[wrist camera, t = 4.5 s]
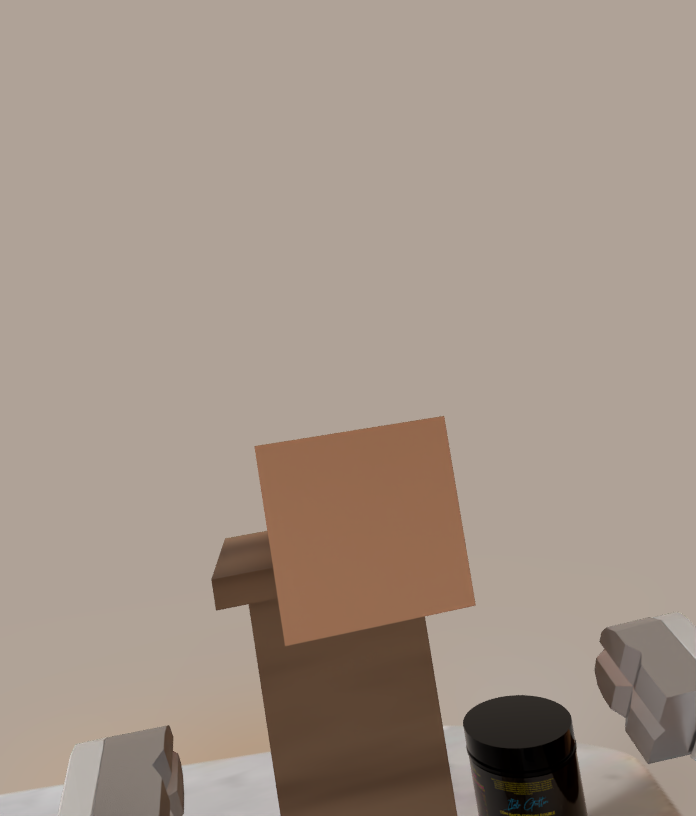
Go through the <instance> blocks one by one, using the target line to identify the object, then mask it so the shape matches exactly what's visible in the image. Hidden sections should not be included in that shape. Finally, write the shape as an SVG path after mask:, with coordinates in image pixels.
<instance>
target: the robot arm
mask: <svg viewBox="0 0 696 816" xmlns="http://www.w3.org/2000/svg"><path fill="white" fill-rule="evenodd" d="M600 643H601V644H602V646H603V647H604V650H603V651H602V652H601V653H600V654H599V656H598V657H597V658H596V664H595V675H596V679H597V684H598V687H599V689H600V691H601V693H602V695H603V698H604V699H605V701H606V702H607V704H608V705H609V707H610V708H611V709H612V710H613V711H615V712H617V713H618V714H620V715H622V716H623V717H625V718H626V723H625V726H626V727H625V730H626V732H627V734H628V735H629V737H630V738H631V740H632V741H633V742H634V744H635V746H636V747H637V749H638V750H639V752H640V753H641V754H642V756H643V757H644V759H645V760H646V762H647V763H648V764H650V763H655V762H659V761H664V760H667V759H672V758H676V757H681V756H685V755H689V754H691V758H693V759H694V760H695V761H696V627H695V626H694V625H693V624H692V622H691V621H690V620H689V619H688V618H687V617H686V616H685V615H683V614H681V613H679V612H674V613H669V614H665V615H661V616H657V617H653V618H651V617H648V618H645V619H640V620H636V621H632V622H627V623H623V624H619V625H615V626H611V627H607V628H605V629H604V630H603V631H602V633H601V637H600ZM183 814H184V785H183V773H182V767H181V762H180V758H179V755H178V753H176V752H174V751H173V735H172V732H171V729H170V726H169V725H168V726H163V727H158V728H153V729H148V730H143V731H138V732H133V733H128V734H122V735H117V736H112V737H107V738H102V739H97V740H93V741H88V742H84V743H79V744H76V745H75V747H74V749H73V751H72V753H71V755H70V759H69V764H68V769H67V773H66V778H65V783H64V788H63V793H62V797H61V802H60V807H59V812H58V816H182V815H183Z"/></svg>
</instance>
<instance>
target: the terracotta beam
mask: <svg viewBox="0 0 696 816" xmlns="http://www.w3.org/2000/svg"><path fill="white" fill-rule="evenodd" d="M255 452H256V459H257V465H258V472H259V478H260V485H261V492H262V498H263V504H264V511H265V518H266V524H267V531H268V537H269V544H270V550H271V557H272V564H273V570H274V577H275V583H276V590H277V596H278V603H279V609H280V616H281V622H282V629H283V635H284V642H285V646H289V645H293V644H298V643H303V642H307V641H312V640H317V639H321V638H326V637H331V636H335V635H340V634H345V633H349V632H354V631H359V630H363V629H368V628H373V627H378V626H382V625H387V624H392V623H396V622H401V621H406V620H410V619H415V618H420V617H424V616H429V615H433V614H438V613H442V612H447V611H452V610H457V609H462V608H466V607H470V606H475V599H474V592H473V586H472V581H471V574H470V568H469V563H468V556H467V551H466V544H465V539H464V533H463V526H462V521H461V515H460V509H459V502H458V496H457V490H456V484H455V478H454V472H453V467H452V460H451V454H450V449H449V443H448V436H447V430H446V424H445V418H444V416H442V417H435V418H428V419H422V420H416V421H410V422H403V423H398V424H391V425H384V426H378V427H372V428H366V429H359V430H353V431H347V432H341V433H334V434H328V435H322V436H316V437H310V438H303V439H297V440H291V441H284V442H279V443H272V444H266V445H259V446H255Z"/></svg>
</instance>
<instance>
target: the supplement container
mask: <svg viewBox="0 0 696 816" xmlns="http://www.w3.org/2000/svg"><path fill="white" fill-rule="evenodd" d="M463 727H464V733H465V739H466V747H467V753H468V755H469V760H470V766H471V772H472V778H473V784H474V790H475V796H476V802H477V808H478V814H479V816H588V815H587V809H586V803H585V798H584V792H583V786H582V780H581V774H580V769H579V763H578V757H577V751H576V749H577V745H576V740H575V736H574V732H573V725H572V719H571V715H570V713H569V712H568V711H567V710H566V709H565V708H564V707H563V706H562V705H560V704H558V703H556V702H554V701H551V700H548V699H545V698H541V697H535V696H525V695H516V696H505V697H499V698H495V699H491V700H488V701H485V702H483V703H481V704H479V705H477V706H475V707H474V708H472V709H471V710H470V711H469V712H468V713H467V714H466V716H465V717H464V720H463Z"/></svg>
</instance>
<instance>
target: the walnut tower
mask: <svg viewBox="0 0 696 816" xmlns="http://www.w3.org/2000/svg"><path fill="white" fill-rule="evenodd" d="M212 586H213V593H214V599H215V606H216V610H221V609H226V608H231V607H236V606H241V605H246V604H249V609H250V616H251V623H252V628H253V636H254V642H255V649H256V655H257V662H258V669H259V674H260V682H261V689H262V695H263V702H264V708H265V715H266V722H267V728H268V735H269V741H270V748H271V755H272V761H273V768H274V775H275V781H276V788H277V794H278V801H279V808H280V814H281V816H457V811H456V805H455V799H454V792H453V786H452V780H451V774H450V768H449V762H448V756H447V749H446V743H445V737H444V731H443V725H442V719H441V713H440V707H439V700H438V695H437V688H436V682H435V676H434V670H433V664H432V658H431V651H430V646H429V639H428V633H427V627H426V621H425V616H424V617H420V618H415V619H410V620H406V621H401V622H396V623H392V624H387V625H382V626H378V627H373V628H368V629H363V630H359V631H354V632H349V633H345V634H340V635H335V636H331V637H326V638H321V639H317V640H312V641H307V642H303V643H298V644H293V645H289V646H285V642H284V635H283V629H282V622H281V616H280V609H279V603H278V596H277V590H276V583H275V577H274V570H273V564H272V557H271V550H270V544H269V537H268V531H264V532H258V533H253V534H247V535H242V536H236V537H231V538H226V539H225V541H224V544H223V547H222V549H221V553H220V556H219V559H218V562H217V565H216V568H215V571H214V574H213V577H212Z"/></svg>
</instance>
